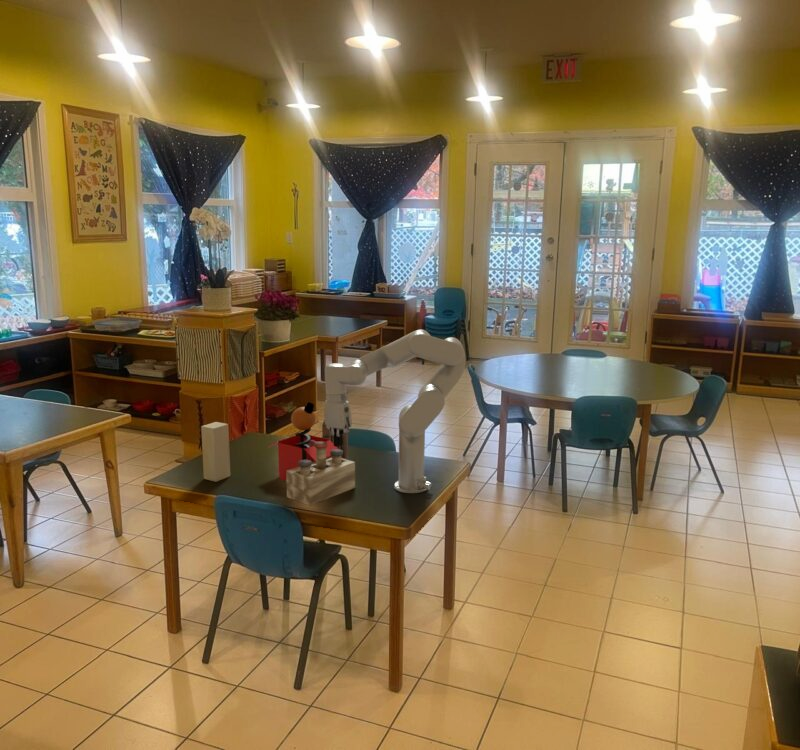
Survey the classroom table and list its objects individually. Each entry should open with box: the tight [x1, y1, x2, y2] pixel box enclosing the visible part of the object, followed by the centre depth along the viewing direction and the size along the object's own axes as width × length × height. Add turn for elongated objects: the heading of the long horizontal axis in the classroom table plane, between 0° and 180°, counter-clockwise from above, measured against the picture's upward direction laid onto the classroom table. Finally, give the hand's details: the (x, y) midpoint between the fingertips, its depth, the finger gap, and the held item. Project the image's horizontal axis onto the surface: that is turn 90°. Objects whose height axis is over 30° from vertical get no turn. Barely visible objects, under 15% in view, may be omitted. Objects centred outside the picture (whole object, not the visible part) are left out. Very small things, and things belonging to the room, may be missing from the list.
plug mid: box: [315, 442, 327, 469], centre depth 266 cm, size 5×5×9 cm
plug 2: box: [330, 449, 343, 464], centre depth 273 cm, size 5×5×9 cm
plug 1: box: [298, 460, 312, 476], centre depth 261 cm, size 5×5×9 cm
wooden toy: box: [320, 420, 349, 460], centre depth 296 cm, size 16×7×25 cm, turn 160°
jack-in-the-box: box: [266, 401, 338, 482], centre depth 282 cm, size 26×16×30 cm, turn 55°
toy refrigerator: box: [200, 421, 231, 482], centre depth 281 cm, size 8×7×21 cm
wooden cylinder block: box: [286, 456, 356, 506], centre depth 268 cm, size 12×23×10 cm, turn 141°
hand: (338, 445), depth 271 cm, fingers closed
